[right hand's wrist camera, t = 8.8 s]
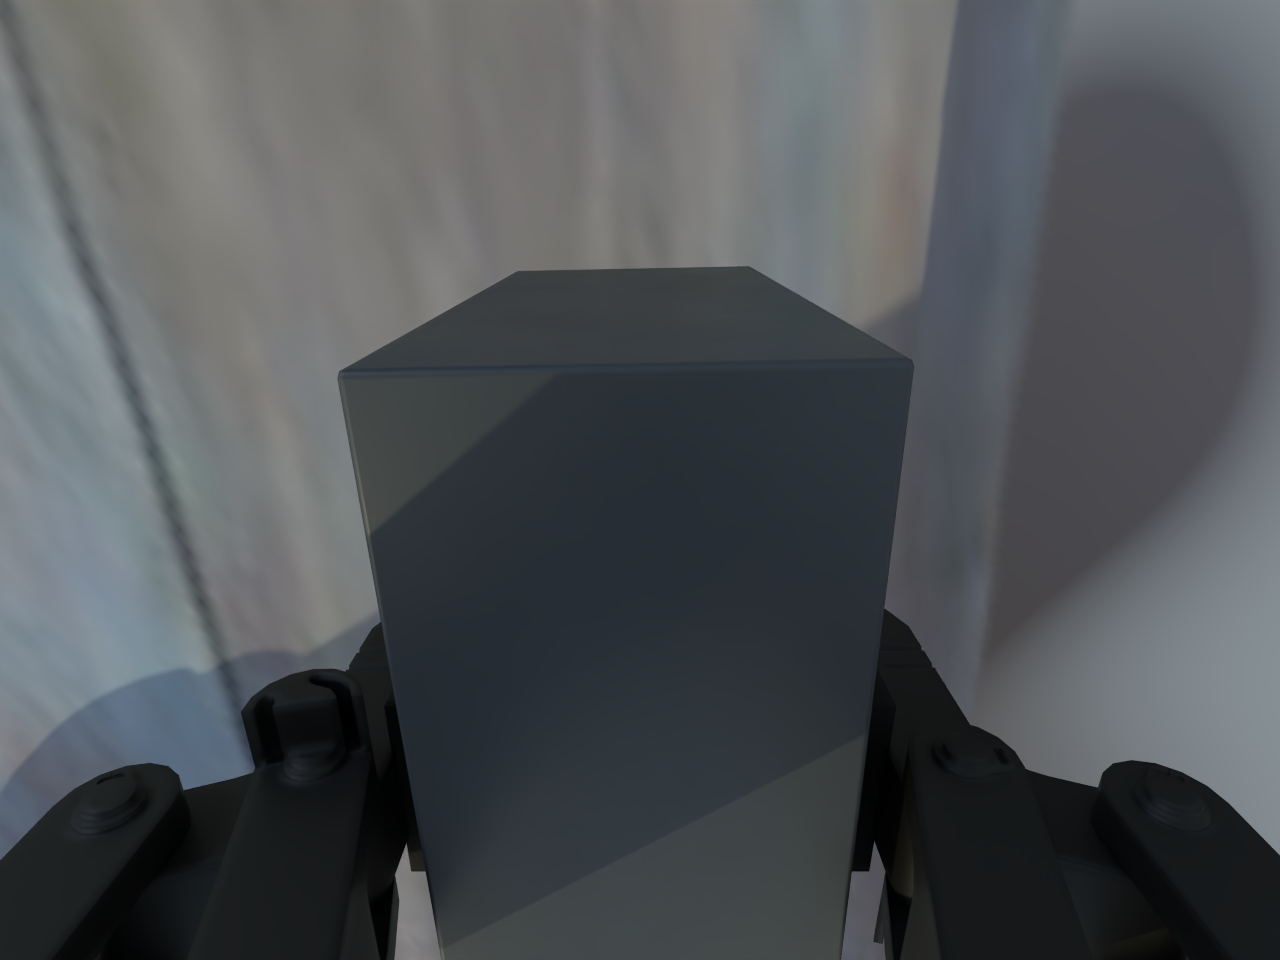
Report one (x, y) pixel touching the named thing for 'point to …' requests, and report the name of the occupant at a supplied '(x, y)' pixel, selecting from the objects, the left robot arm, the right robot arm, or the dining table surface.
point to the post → (633, 606)
